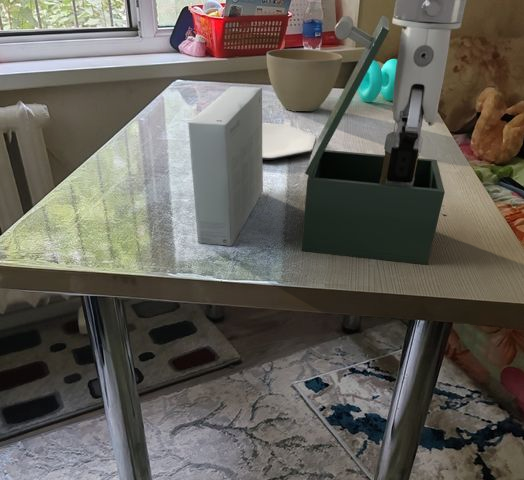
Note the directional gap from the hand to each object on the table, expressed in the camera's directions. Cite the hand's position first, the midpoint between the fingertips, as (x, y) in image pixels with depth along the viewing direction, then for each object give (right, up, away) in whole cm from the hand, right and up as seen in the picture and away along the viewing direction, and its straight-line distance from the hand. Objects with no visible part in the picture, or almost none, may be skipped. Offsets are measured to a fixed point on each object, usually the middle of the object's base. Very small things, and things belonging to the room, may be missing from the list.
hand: (398, 172), depth 71 cm
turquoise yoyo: (+13, +44, +76) cm, 89 cm away
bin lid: (-7, +8, -4) cm, 11 cm away
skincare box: (-23, -3, +11) cm, 25 cm away
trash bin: (-3, -7, +6) cm, 10 cm away
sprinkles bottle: (0, -7, +5) cm, 9 cm away
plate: (-19, +18, +40) cm, 48 cm away
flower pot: (-8, +38, +66) cm, 77 cm away
